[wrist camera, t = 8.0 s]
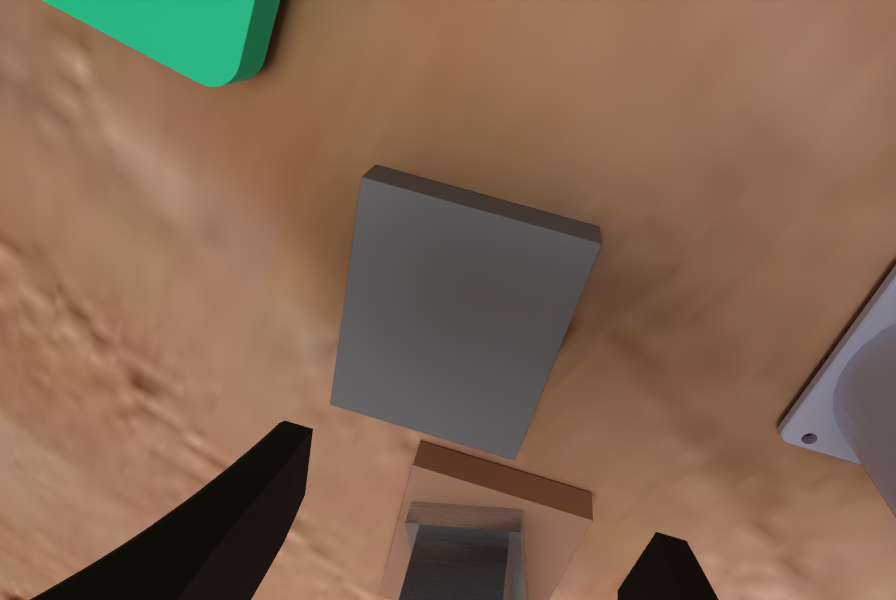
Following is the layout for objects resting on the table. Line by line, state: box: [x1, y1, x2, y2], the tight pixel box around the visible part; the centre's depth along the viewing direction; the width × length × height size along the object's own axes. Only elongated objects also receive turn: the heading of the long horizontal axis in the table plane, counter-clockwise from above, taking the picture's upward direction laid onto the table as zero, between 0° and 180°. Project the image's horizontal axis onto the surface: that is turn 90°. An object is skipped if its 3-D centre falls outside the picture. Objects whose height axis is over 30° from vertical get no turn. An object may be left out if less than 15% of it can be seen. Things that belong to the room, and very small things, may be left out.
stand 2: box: [379, 441, 593, 600], centre depth 26 cm, size 8×10×2 cm
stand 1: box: [330, 165, 602, 460], centre depth 21 cm, size 8×10×2 cm
